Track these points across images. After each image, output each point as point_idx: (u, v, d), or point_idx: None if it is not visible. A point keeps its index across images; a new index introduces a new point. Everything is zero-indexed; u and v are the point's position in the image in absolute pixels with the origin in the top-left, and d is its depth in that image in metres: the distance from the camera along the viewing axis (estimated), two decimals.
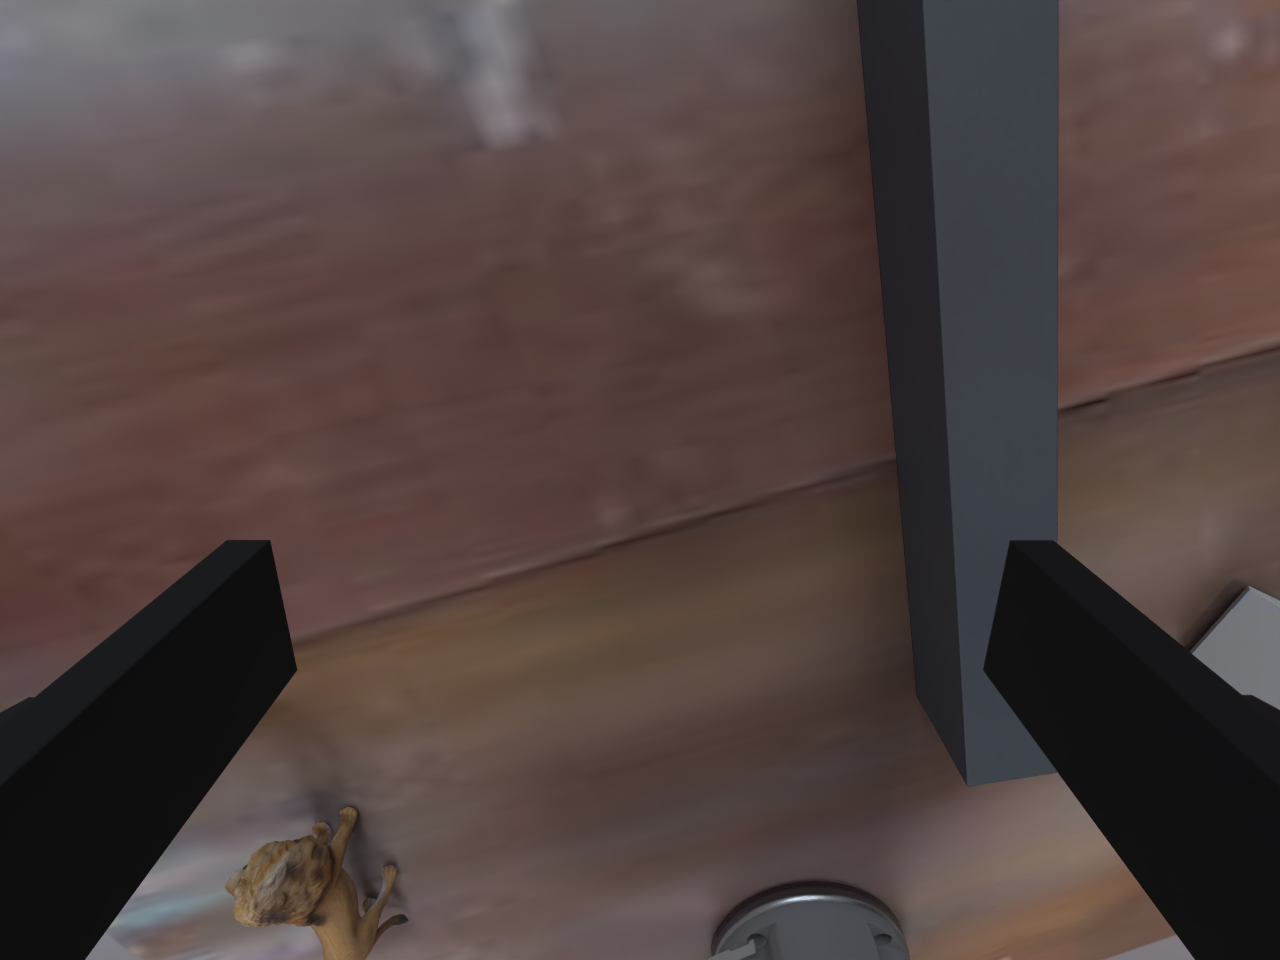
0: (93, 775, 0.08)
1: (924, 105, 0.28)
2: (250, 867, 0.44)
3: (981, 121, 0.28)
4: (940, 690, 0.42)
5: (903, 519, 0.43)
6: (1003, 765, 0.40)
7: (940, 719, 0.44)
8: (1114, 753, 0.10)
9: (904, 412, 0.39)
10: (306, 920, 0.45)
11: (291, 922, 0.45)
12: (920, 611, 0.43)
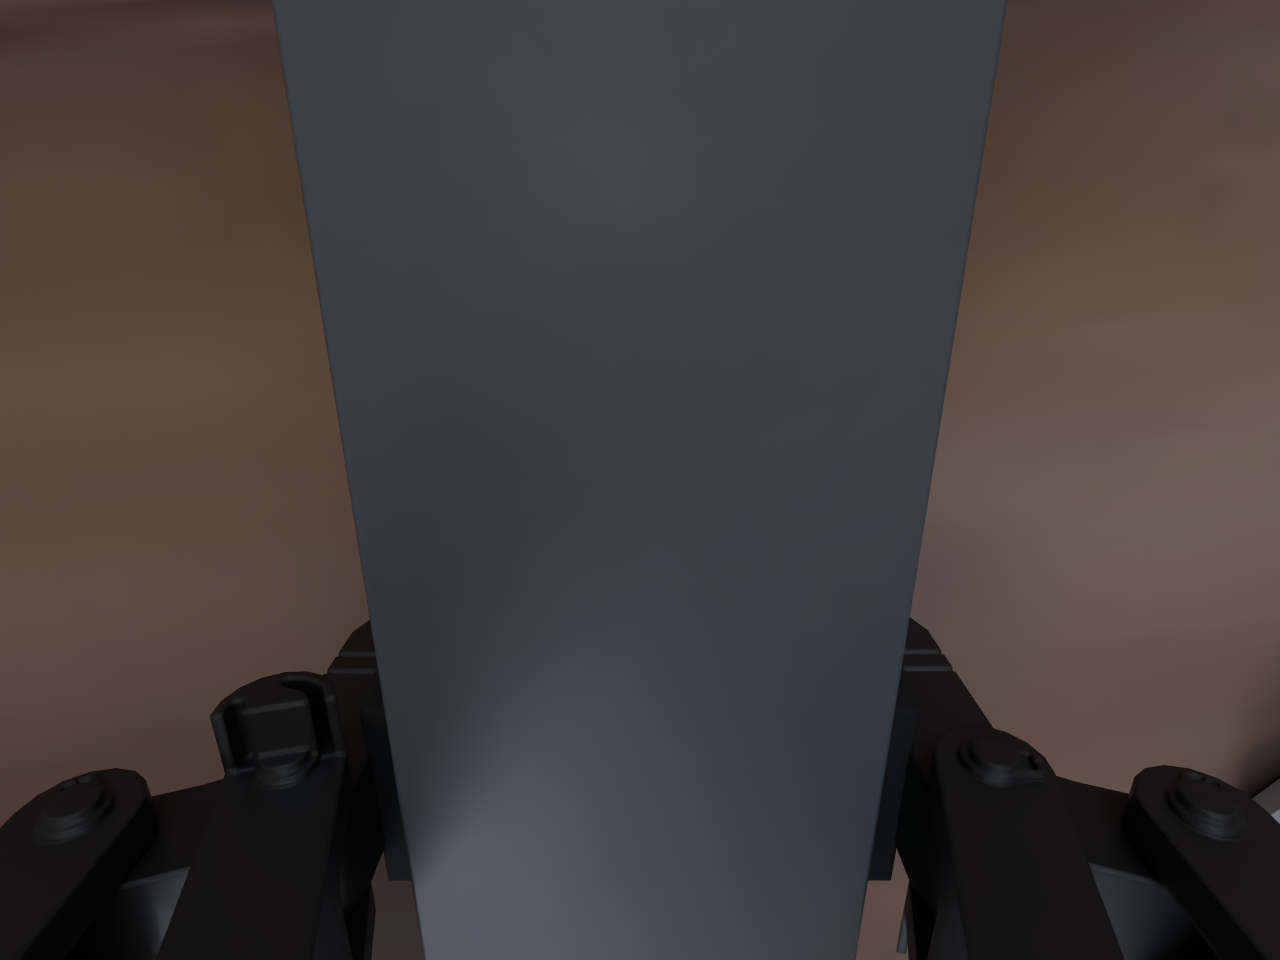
0: None
1: None
2: None
3: None
4: None
5: None
6: None
7: None
8: None
9: None
10: None
11: None
12: None
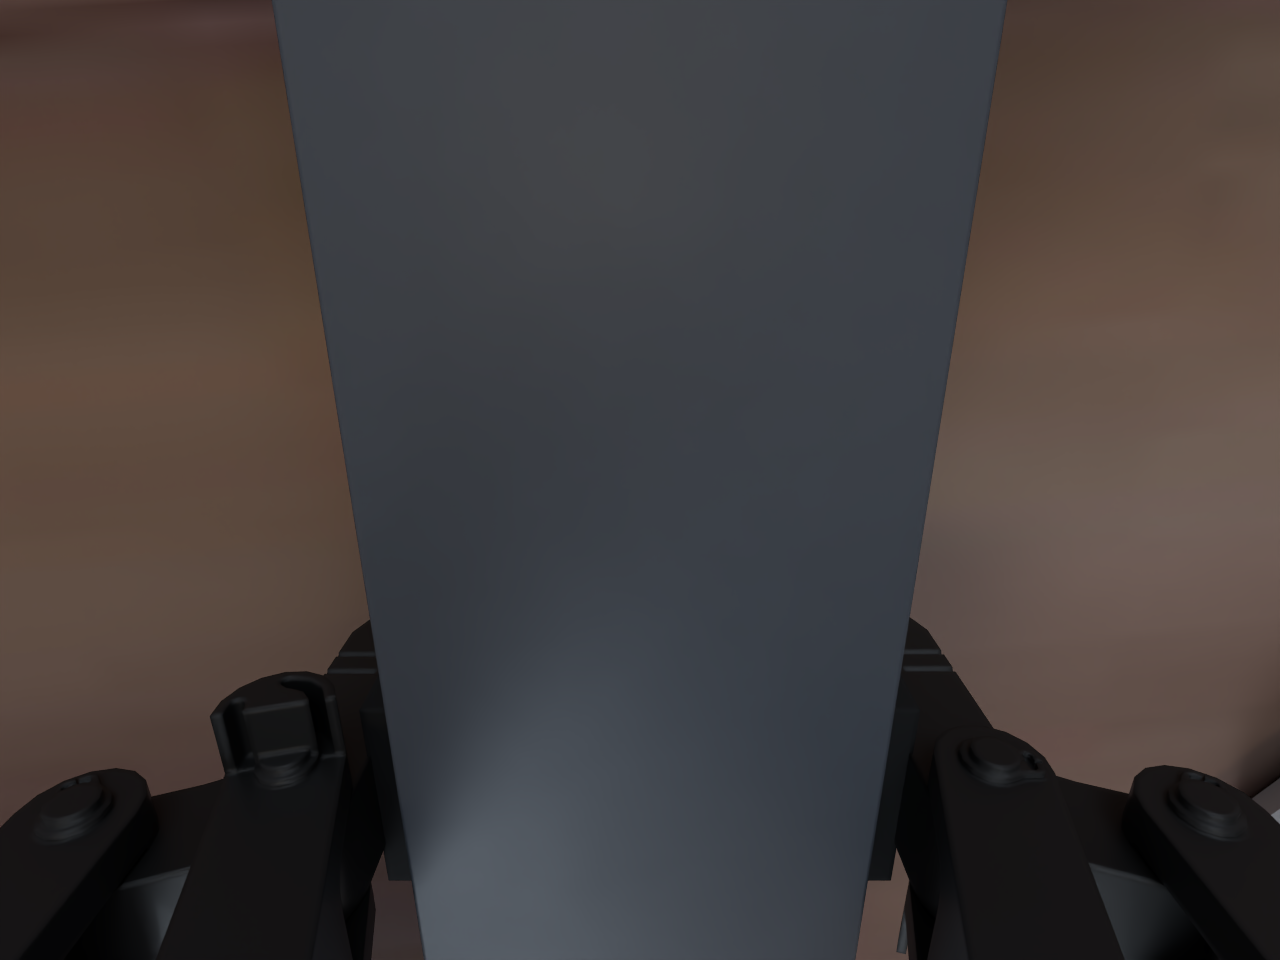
0: None
1: None
2: None
3: None
4: None
5: None
6: None
7: None
8: None
9: None
10: None
11: None
12: None
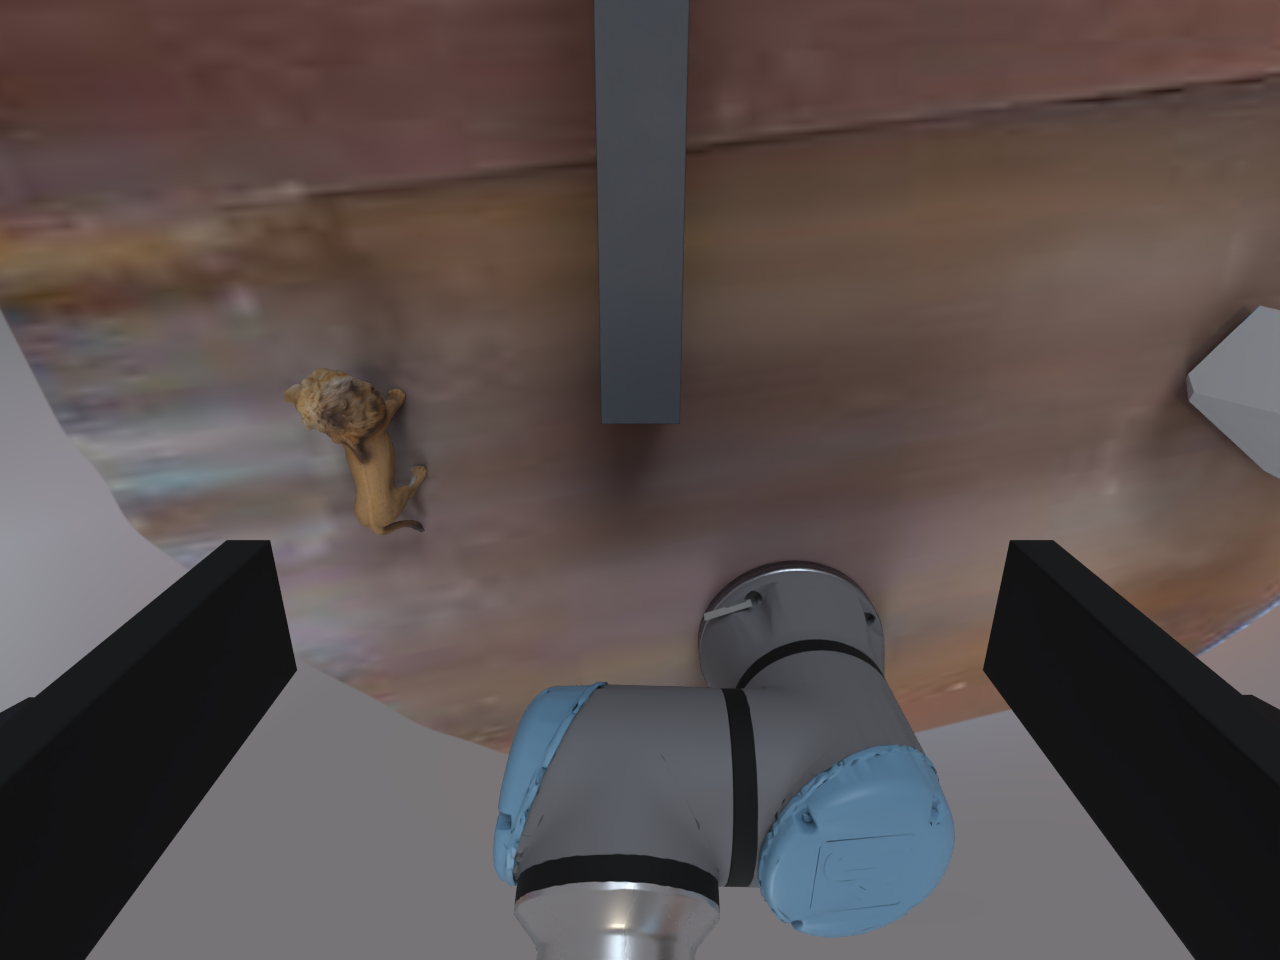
0: (93, 775, 0.08)
1: None
2: (316, 372, 0.46)
3: None
4: None
5: None
6: (633, 405, 0.45)
7: None
8: (1114, 753, 0.10)
9: None
10: (357, 442, 0.47)
11: (345, 436, 0.46)
12: None
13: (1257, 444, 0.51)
